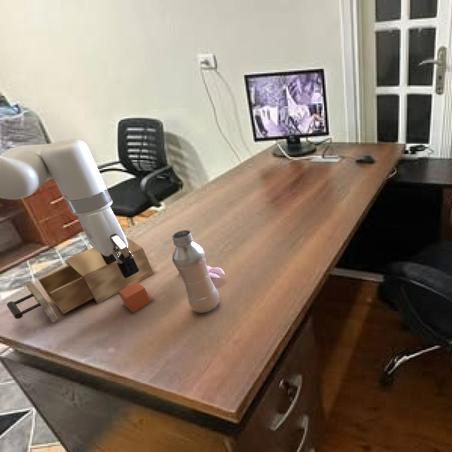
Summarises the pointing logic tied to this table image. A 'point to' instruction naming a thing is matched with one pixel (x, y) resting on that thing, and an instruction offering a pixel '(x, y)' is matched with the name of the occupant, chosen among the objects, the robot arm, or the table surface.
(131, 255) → the robot arm
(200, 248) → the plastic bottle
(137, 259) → the cabinet
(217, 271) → the rabbit figure
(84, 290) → the drawer
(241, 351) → the table surface
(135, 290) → the block
